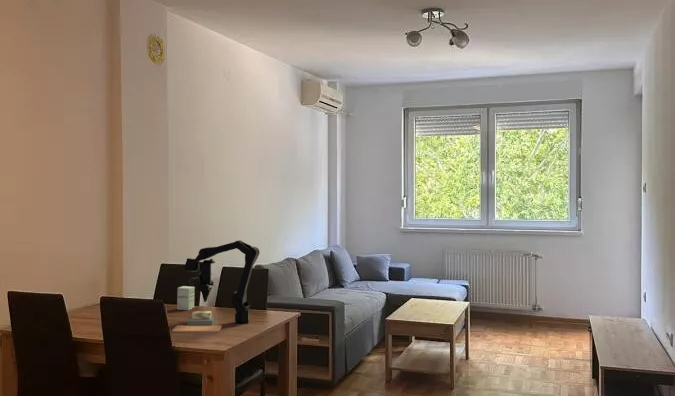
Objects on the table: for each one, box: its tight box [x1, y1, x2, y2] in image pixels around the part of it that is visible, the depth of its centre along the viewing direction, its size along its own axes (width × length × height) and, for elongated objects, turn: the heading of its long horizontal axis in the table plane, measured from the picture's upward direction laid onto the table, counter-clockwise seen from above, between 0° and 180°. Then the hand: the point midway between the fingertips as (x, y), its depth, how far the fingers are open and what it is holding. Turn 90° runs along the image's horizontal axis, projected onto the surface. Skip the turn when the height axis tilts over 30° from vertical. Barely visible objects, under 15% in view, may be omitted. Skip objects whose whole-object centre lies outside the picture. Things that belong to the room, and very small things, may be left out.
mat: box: [171, 324, 223, 333], centre depth 298 cm, size 22×12×1 cm, turn 93°
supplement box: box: [176, 285, 196, 311], centre depth 350 cm, size 7×7×13 cm
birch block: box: [191, 310, 213, 319], centre depth 310 cm, size 9×5×3 cm, turn 93°
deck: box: [186, 316, 216, 326], centre depth 309 cm, size 12×10×3 cm
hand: (205, 301), depth 319 cm, fingers closed
